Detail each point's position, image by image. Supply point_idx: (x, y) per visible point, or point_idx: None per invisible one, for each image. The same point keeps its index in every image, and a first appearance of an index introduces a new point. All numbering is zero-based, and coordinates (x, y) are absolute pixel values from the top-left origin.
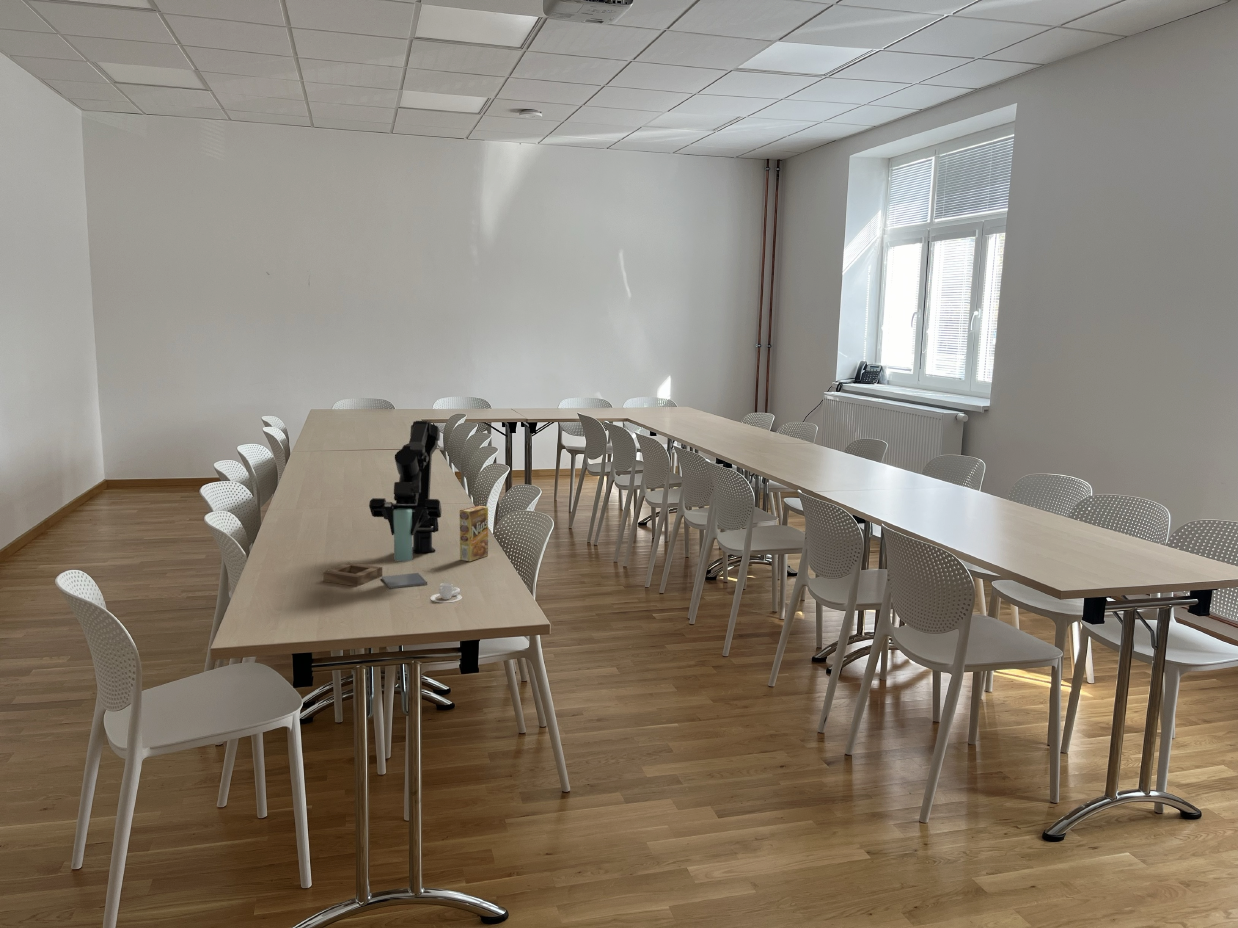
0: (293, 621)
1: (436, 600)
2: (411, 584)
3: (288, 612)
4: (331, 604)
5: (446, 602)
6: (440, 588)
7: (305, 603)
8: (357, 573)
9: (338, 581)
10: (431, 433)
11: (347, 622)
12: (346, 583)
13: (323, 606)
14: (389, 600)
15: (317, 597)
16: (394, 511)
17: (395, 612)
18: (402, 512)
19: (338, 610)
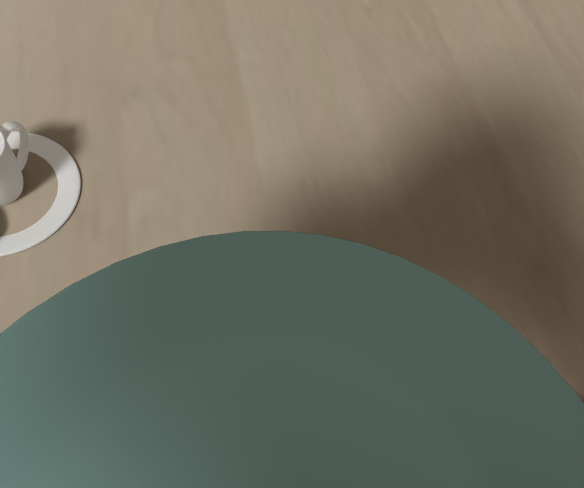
0: (503, 31)
1: (54, 159)
2: None
3: (558, 96)
4: (464, 153)
5: (11, 132)
6: (12, 121)
7: (556, 170)
8: None
9: None
10: None
11: (352, 6)
12: None
13: (481, 136)
14: (260, 177)
15: (551, 233)
16: (545, 370)
17: (219, 59)
18: (250, 244)
19: (416, 96)
